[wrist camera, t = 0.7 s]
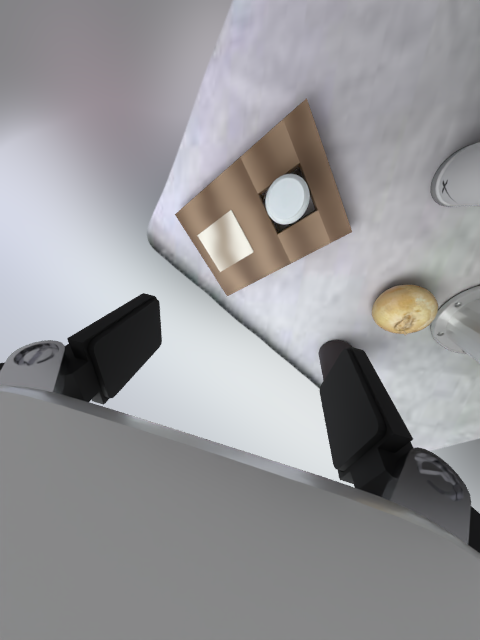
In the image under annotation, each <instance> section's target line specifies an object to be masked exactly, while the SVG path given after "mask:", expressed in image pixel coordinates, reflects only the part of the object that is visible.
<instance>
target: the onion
mask: <svg viewBox="0 0 480 640" xmlns="http://www.w3.org/2000/svg"><path fill="white" fill-rule="evenodd" d="M437 311H438V304H437V301H436V299H435V297H434V296H433V294H432V293H431V292H429V291H428V290H426V289H424V288H422V287H420V286H417V285H398V286H394V287H392V288H390V289H388V290H386V291H385V292H383V293H382V294H381V295H380V296H379V297H378V298H377V299H376V301H375V303H374V305H373V308H372V317H373V319H374V321H375V322H376V324H377V325H378V326H380V327H381V328H383V329H384V330H386V331H389V332H392V333H399V334H404V335H406V334H407V333H413V332H417V331H420V330H422V329H424V328H425V327H427V326H428V325H429V324H430V323H431V322H432V321H433V320H434V319H435V317H436V314H437Z"/></svg>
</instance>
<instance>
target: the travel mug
mask: <svg viewBox="0 0 480 640" xmlns="http://www.w3.org/2000/svg"><path fill="white" fill-rule="evenodd" d="M431 195H432V198H433V199H434V201H435V202H436V203H438V204H439V205H442V206H448V207H453V206H480V142H478V143H475V144H472V145H470V146H467V147H465V148H462V149H460V150H459V151H457V152H456V153H454V154H453V155H451V156H450V157H449V158H448V159H447V160H446V161H445V162H444V163H443V164H442V165H441V166H440V168H439V169H438V170H437V172H436V174H435V176H434V178H433V181H432V184H431Z"/></svg>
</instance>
